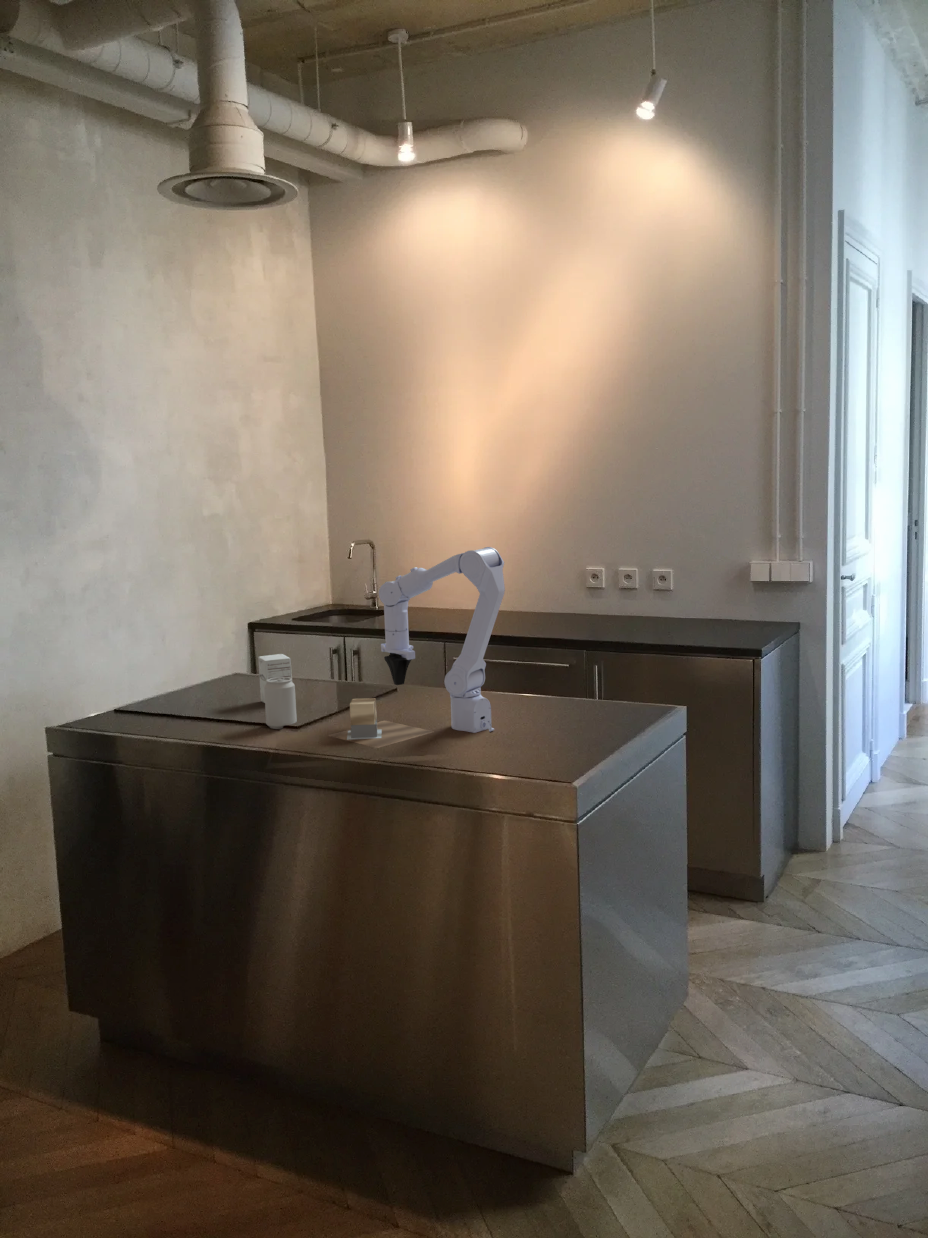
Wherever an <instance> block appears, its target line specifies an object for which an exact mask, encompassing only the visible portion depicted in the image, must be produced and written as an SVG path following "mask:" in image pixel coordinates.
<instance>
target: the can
mask: <svg viewBox="0 0 928 1238" xmlns="http://www.w3.org/2000/svg"><path fill="white" fill-rule="evenodd" d="M291 680H292V681H291ZM266 682H267V684H266V685H265V686H264V694H265V703H264V708H265V725H267V726H268V727H269V728H270V729H274V730H282V729H283V728H284V727H285V726H288V725H294V724H296V723H297V722H298V721H297V720H298V718H297V717H298V716H297V702H296V701H297V700H296V698H297V697H296V685H295V683H294V682H293V678H292V679H291V678H289V677H276V678H270V679H268V680H266Z"/></svg>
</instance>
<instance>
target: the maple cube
mask: <svg viewBox="0 0 928 1238" xmlns="http://www.w3.org/2000/svg"><path fill="white" fill-rule="evenodd" d="M349 713H350V714H349V715H350V726H351V725H373V724H375V722H376V719H377V718H378V716H377V715H378V714H377V699H376V697H373V698H372V697H370V698H367V697H366V698H352V699H351V700H350V703H349ZM377 720H378V719H377Z"/></svg>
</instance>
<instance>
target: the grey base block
mask: <svg viewBox="0 0 928 1238" xmlns="http://www.w3.org/2000/svg"><path fill="white" fill-rule="evenodd" d="M377 722H378V719H376V722H375V724H373V725H351V724H350V729H351V738H366V737H377Z"/></svg>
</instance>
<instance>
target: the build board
mask: <svg viewBox="0 0 928 1238" xmlns="http://www.w3.org/2000/svg"><path fill="white" fill-rule="evenodd" d="M432 733H435V731H433V730H429V729H424V728H420V727H417V726H413V725H412V726H411V725H407V724H402V723H397V722H395V721H389V720H380V721H377V737H366V738H351V728H350V729H346V730H341V731H339V732H335V733H331V734H328V735H327V736H329V737H331V738H336V739H340V740H343V741H348V742H352V743H356V744H359V745H363V746H368V747H371V748H375V749H379V748H383V747H386V746H390V745H392V744H393V745H394V744H396V743H399V742H404V741H408V740H410V739H414V738H418V737H422V736H425V735H430V734H432Z"/></svg>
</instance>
